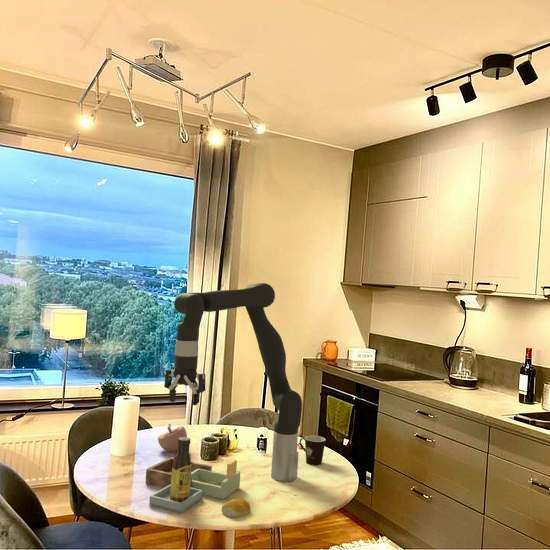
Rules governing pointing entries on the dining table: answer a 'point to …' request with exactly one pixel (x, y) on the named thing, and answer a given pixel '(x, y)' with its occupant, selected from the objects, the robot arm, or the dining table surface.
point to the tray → (164, 502)
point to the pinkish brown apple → (171, 438)
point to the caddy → (217, 481)
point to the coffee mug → (314, 449)
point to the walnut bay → (167, 472)
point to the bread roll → (236, 508)
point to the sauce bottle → (181, 472)
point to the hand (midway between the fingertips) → (183, 403)
